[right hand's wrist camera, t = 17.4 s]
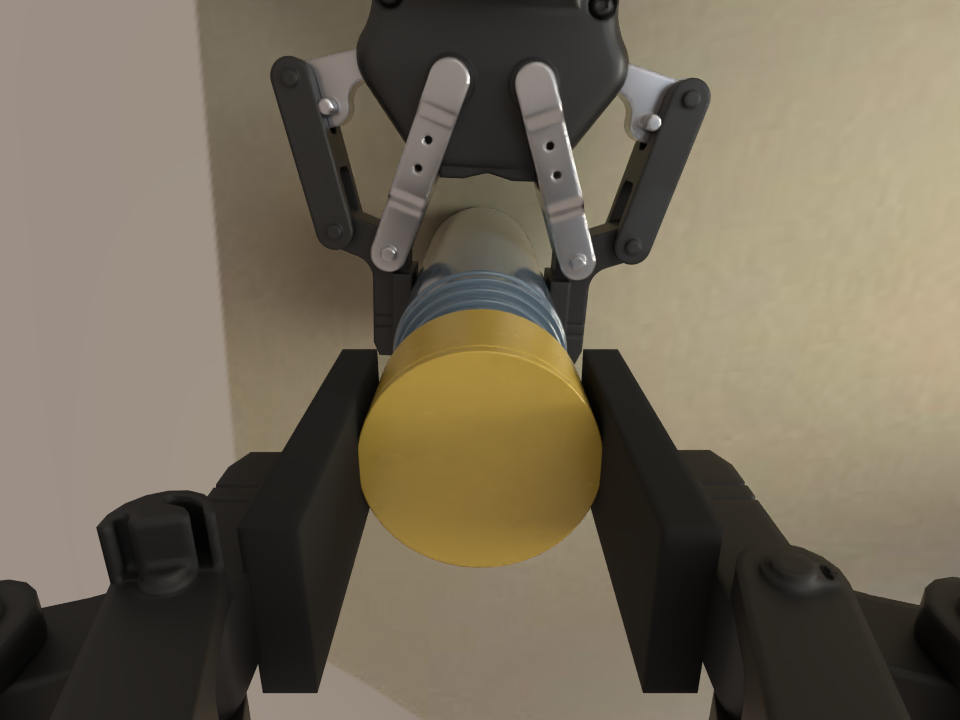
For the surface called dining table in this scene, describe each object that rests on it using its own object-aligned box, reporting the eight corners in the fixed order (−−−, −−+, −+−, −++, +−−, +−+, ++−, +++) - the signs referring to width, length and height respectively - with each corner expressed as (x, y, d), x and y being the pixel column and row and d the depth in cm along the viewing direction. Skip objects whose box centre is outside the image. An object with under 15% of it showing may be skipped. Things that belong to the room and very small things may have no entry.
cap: (335, 402, 14) (305, 462, 12) (485, 263, 13) (486, 298, 11) (475, 528, 16) (475, 606, 13) (624, 410, 14) (654, 471, 12)
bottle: (543, 219, 29) (633, 365, 12) (518, 319, 30) (566, 570, 13) (439, 196, 28) (378, 311, 11) (419, 298, 30) (342, 530, 13)
